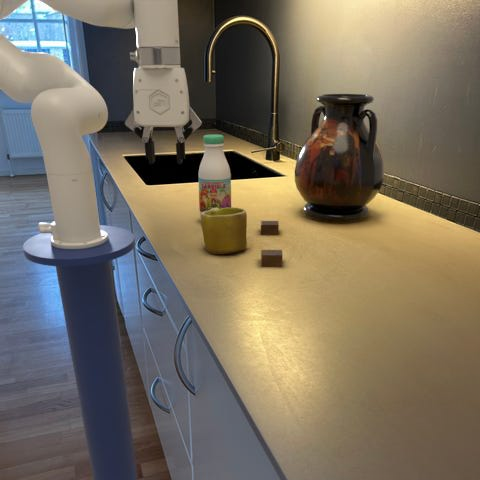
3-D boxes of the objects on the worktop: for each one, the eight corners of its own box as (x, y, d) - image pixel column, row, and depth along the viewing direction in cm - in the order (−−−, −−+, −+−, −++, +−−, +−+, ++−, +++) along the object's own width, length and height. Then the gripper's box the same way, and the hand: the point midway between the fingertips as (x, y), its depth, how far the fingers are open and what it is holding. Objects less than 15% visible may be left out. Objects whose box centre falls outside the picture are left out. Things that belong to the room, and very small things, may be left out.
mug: (260, 247, 102) (243, 199, 99) (212, 265, 102) (194, 217, 99) (252, 240, 114) (237, 196, 111) (209, 256, 113) (192, 213, 110)
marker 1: (260, 234, 116) (260, 224, 114) (260, 230, 118) (260, 220, 117) (278, 234, 115) (278, 224, 114) (277, 230, 118) (278, 220, 117)
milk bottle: (197, 217, 128) (194, 133, 119) (228, 216, 129) (227, 132, 120) (202, 226, 121) (199, 138, 112) (234, 224, 123) (233, 137, 113)
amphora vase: (396, 217, 128) (413, 95, 115) (339, 233, 116) (350, 100, 103) (332, 200, 143) (340, 91, 130) (275, 213, 131) (278, 95, 118)
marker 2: (261, 266, 98) (261, 254, 97) (261, 261, 100) (261, 249, 99) (282, 266, 98) (282, 255, 97) (281, 261, 100) (281, 249, 99)
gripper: (107, 59, 89) (118, 166, 98) (204, 59, 89) (207, 166, 97) (117, 59, 96) (127, 159, 104) (207, 59, 96) (210, 159, 104)
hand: (166, 161), depth 101 cm, fingers open, 4 cm apart
